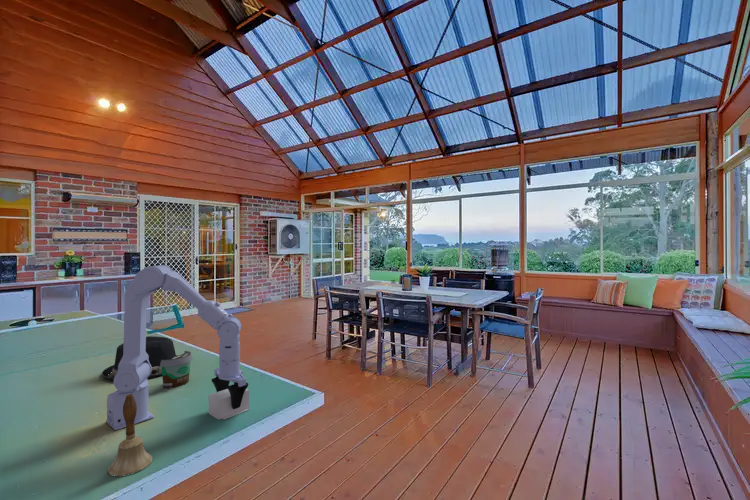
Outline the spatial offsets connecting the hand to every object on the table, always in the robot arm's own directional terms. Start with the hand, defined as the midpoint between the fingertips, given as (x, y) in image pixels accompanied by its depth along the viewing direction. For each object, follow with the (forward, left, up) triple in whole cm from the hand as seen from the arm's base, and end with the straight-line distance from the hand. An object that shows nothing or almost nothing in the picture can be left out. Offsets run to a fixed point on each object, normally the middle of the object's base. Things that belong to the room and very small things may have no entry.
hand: (229, 404), depth 108 cm
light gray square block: (0, 0, -2) cm, 2 cm away
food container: (0, +33, -2) cm, 33 cm away
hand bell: (-28, -8, -2) cm, 29 cm away
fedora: (-3, +58, -2) cm, 58 cm away
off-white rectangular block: (0, 0, -2) cm, 2 cm away
